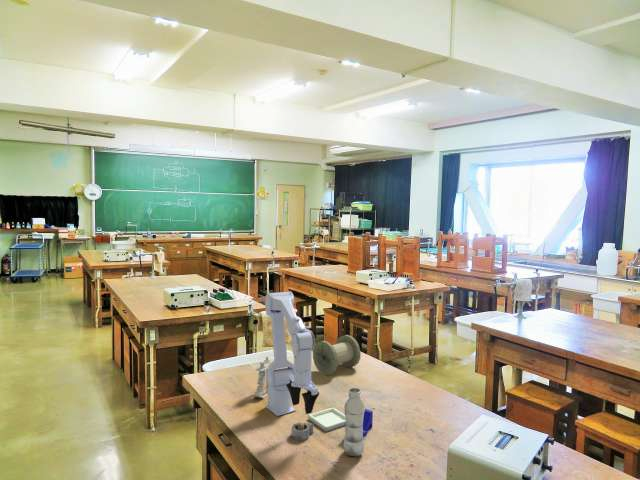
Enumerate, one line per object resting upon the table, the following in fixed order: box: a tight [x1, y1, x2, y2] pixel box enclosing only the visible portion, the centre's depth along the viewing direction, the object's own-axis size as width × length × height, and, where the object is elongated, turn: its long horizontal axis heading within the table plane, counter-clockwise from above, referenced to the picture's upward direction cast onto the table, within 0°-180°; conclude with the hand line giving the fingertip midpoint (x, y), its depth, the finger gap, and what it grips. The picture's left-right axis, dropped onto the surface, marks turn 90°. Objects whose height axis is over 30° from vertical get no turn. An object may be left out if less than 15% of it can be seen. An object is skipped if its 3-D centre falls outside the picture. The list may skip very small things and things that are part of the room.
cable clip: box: [344, 407, 374, 439], centre depth 149 cm, size 12×4×6 cm, turn 141°
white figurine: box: [251, 356, 270, 399], centre depth 177 cm, size 4×10×15 cm, turn 163°
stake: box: [297, 422, 305, 430], centre depth 147 cm, size 2×2×4 cm
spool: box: [312, 334, 361, 376], centre depth 207 cm, size 16×15×15 cm
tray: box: [307, 407, 346, 432], centre depth 157 cm, size 11×11×2 cm
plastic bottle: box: [343, 387, 366, 457], centre depth 136 cm, size 6×7×20 cm
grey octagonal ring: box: [290, 421, 314, 441], centre depth 147 cm, size 6×7×3 cm
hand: (302, 408), depth 146 cm, fingers open, 7 cm apart
